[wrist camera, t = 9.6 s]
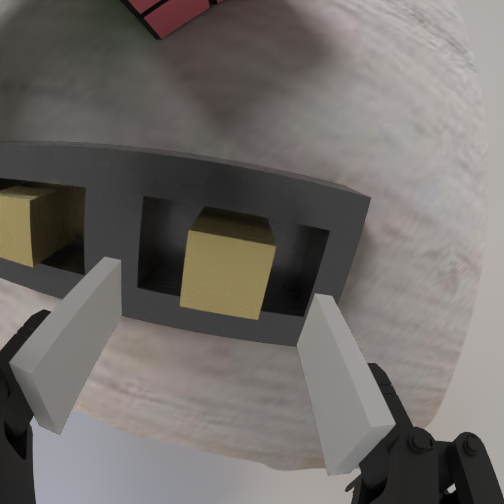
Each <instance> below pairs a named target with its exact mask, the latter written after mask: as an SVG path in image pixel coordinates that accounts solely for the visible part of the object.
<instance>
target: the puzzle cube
mask: <svg viewBox="0 0 504 504" xmlns="http://www.w3.org/2000/svg"><path fill="white" fill-rule="evenodd" d="M120 1H121V2H122V3H123V4H124V5H125V6H126V7H127V8H128V9H129V10H130V11H131V12H132V13H133V14H134V15H135V16H136V18H137V19H138V20H139V21H140V22H141V23H142V24H143V25H144V26H145V27H146V28H147V30H148V31H149V32H150V33H151V34H152V35H153V36H154V37H155V38H156V39H163V38H164V37H166V36H167V35H168V34H170V33H171V32H173V31H174V30H176V29H177V28H179V27H180V26H182V25H183V24H185V23H186V22H188V21H189V20H191V19H193V18H194V17H196V16H197V15H199V14H201V13H202V12H204V11H206V10H207V9H209V8H211V4H212V3H214V4H218V3H220V2H222V1H224V0H120Z"/></svg>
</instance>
